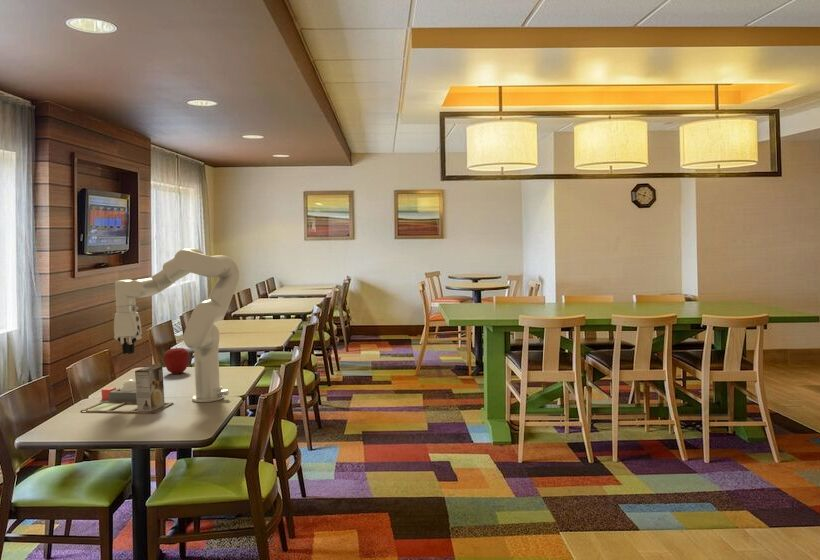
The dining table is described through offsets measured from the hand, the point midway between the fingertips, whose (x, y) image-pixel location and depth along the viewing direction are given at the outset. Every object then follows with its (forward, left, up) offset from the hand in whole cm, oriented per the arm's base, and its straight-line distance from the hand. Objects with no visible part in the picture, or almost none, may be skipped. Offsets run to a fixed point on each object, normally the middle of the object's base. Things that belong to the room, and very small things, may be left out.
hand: (128, 353), depth 273 cm
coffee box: (-18, +15, -19) cm, 30 cm away
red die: (+10, 0, -19) cm, 22 cm away
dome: (0, 0, -17) cm, 17 cm away
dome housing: (0, 0, -19) cm, 19 cm away
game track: (-8, +15, -19) cm, 26 cm away
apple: (+6, -49, -19) cm, 53 cm away
